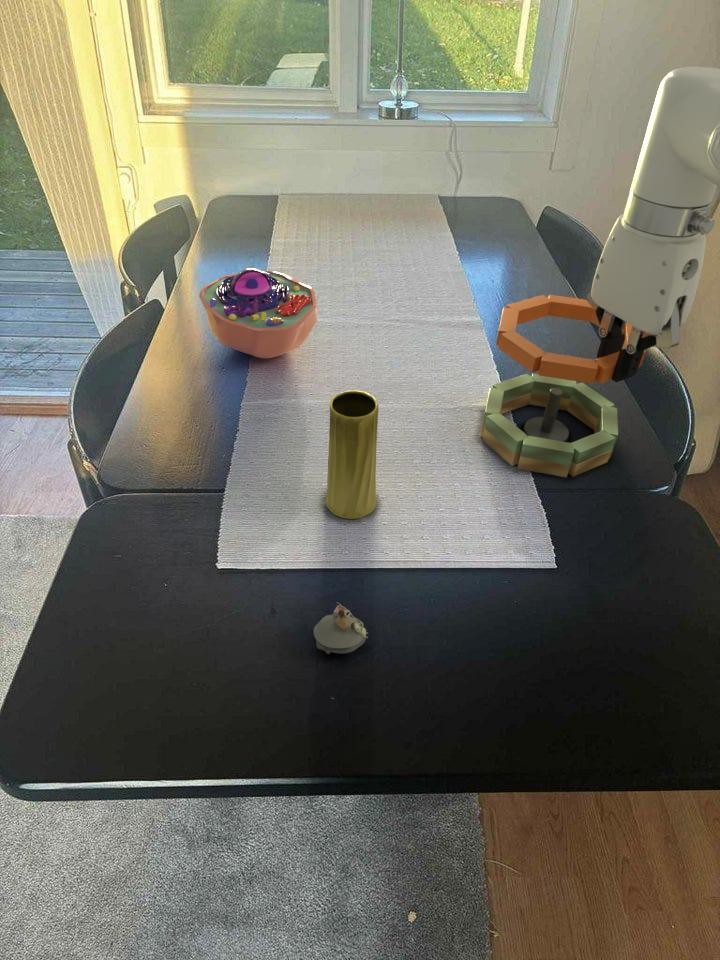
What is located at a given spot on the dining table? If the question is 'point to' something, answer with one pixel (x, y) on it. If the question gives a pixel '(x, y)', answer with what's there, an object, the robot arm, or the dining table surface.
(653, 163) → the robot arm
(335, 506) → the vase
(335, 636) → the figurine
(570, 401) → the ring stack
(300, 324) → the cell model
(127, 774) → the dining table surface
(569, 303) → the orange ring
